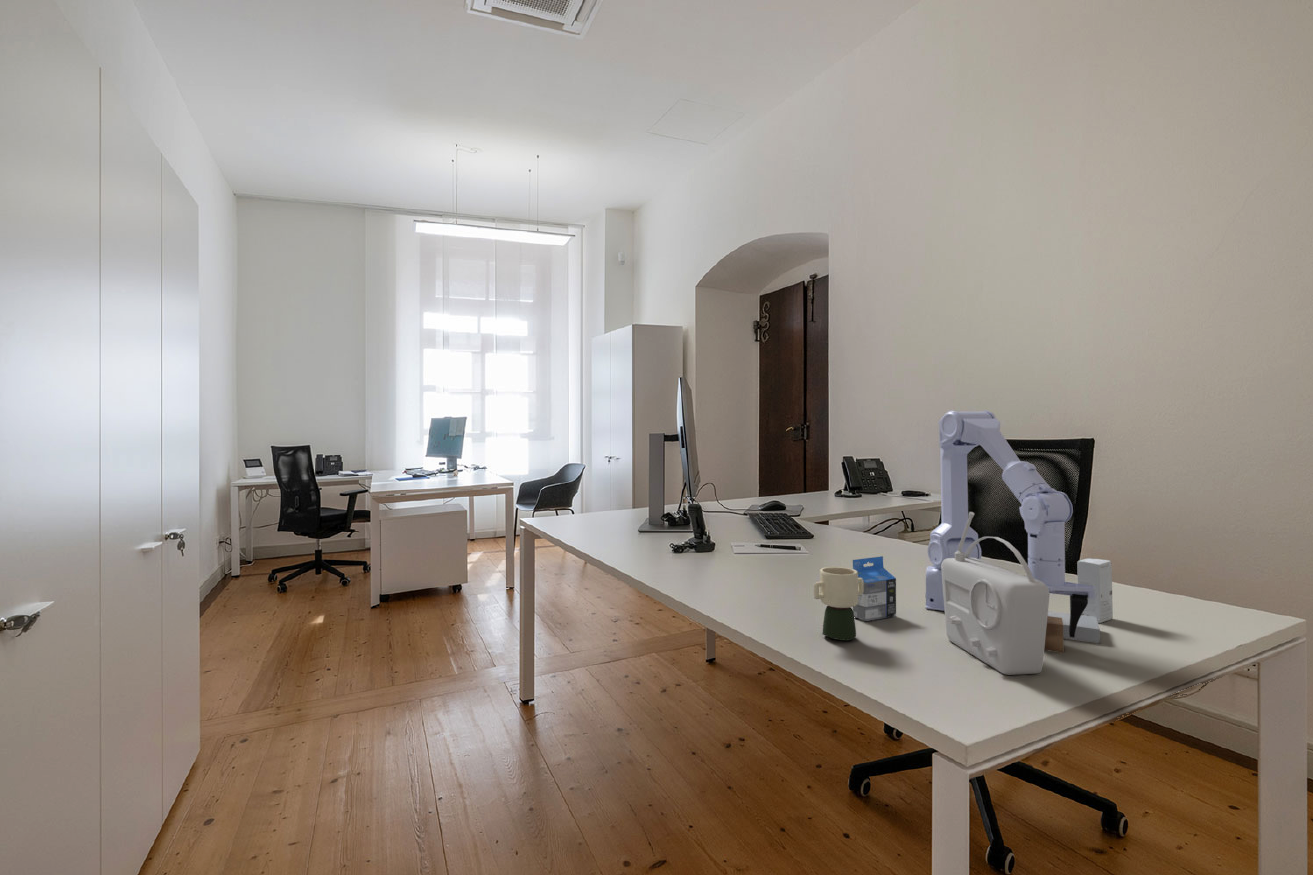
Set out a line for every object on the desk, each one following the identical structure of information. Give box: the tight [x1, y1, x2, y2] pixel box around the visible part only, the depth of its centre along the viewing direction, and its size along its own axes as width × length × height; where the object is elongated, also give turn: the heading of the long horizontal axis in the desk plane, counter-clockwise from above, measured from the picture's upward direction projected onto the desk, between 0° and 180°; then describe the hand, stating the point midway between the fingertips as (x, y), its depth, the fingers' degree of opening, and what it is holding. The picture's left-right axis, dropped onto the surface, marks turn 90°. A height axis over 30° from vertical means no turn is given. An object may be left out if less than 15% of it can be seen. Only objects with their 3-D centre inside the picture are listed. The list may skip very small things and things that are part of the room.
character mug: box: [813, 566, 864, 641], centre depth 119 cm, size 11×7×13 cm, turn 108°
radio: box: [941, 511, 1051, 676], centre depth 109 cm, size 22×8×25 cm, turn 4°
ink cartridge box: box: [852, 555, 897, 622], centre depth 132 cm, size 9×4×12 cm, turn 115°
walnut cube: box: [1044, 616, 1064, 654], centre depth 114 cm, size 5×5×5 cm
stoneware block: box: [1048, 610, 1101, 644], centre depth 121 cm, size 9×9×3 cm
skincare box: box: [1076, 557, 1114, 624], centre depth 130 cm, size 6×4×12 cm
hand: (1046, 632), depth 114 cm, fingers open, 7 cm apart
